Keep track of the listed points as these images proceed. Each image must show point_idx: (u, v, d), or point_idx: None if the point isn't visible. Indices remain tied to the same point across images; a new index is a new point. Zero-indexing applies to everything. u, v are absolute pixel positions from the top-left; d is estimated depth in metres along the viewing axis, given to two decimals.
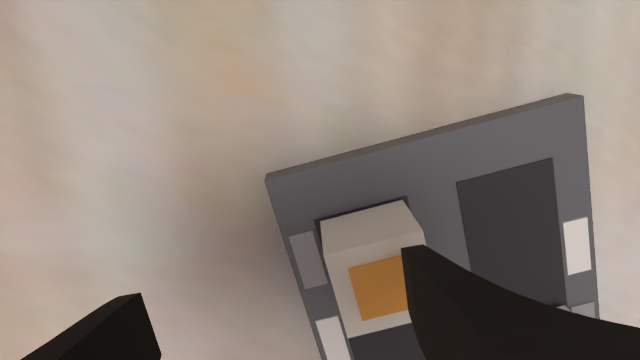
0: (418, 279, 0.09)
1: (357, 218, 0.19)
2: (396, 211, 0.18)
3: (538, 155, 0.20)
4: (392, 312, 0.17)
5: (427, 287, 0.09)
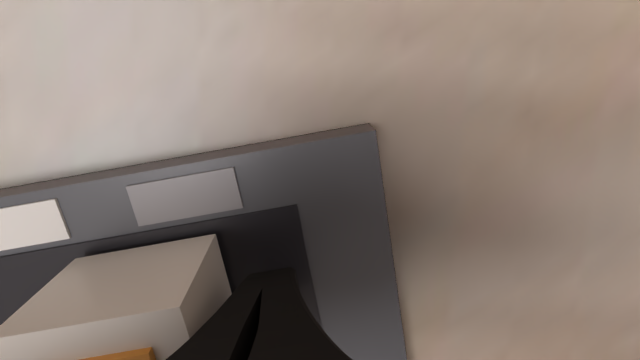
0: None
1: None
2: None
3: None
4: None
5: None
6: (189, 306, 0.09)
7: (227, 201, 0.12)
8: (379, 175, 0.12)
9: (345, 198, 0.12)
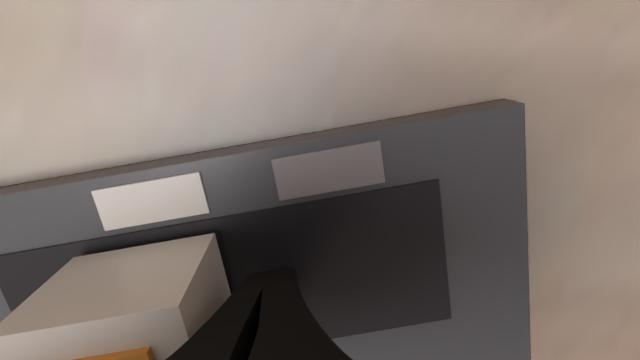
0: None
1: None
2: None
3: None
4: None
5: None
6: (187, 306, 0.09)
7: (369, 176, 0.12)
8: (523, 149, 0.12)
9: (487, 173, 0.12)
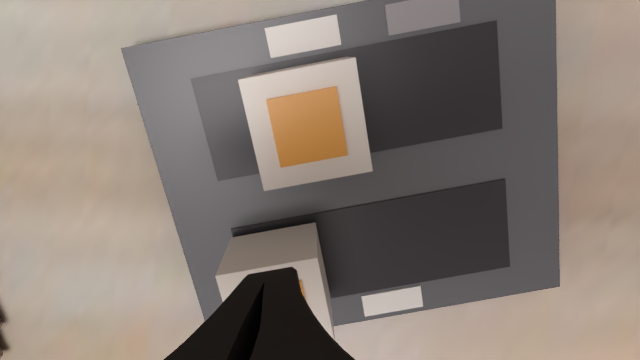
0: None
1: None
2: None
3: (188, 93, 0.18)
4: None
5: None
6: None
7: (449, 18, 0.17)
8: None
9: (529, 16, 0.17)
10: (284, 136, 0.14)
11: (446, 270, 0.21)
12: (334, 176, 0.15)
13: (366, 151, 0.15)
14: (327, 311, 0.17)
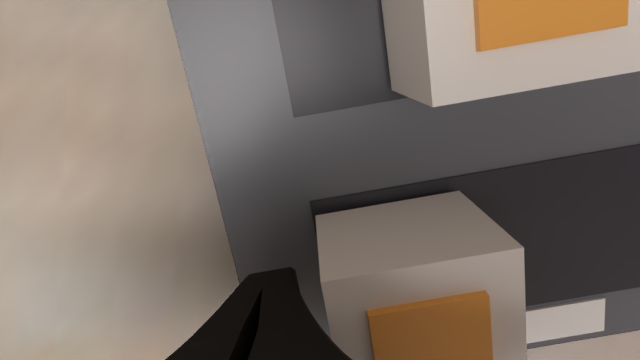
0: None
1: None
2: None
3: None
4: (490, 341, 0.09)
5: None
6: None
7: None
8: None
9: None
10: None
11: None
12: (583, 76, 0.07)
13: None
14: (524, 350, 0.09)
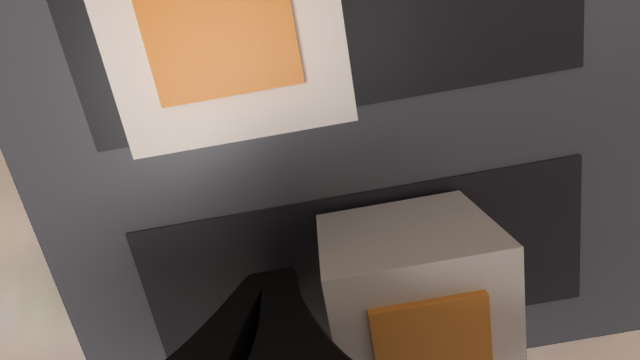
0: None
1: None
2: None
3: None
4: (490, 340, 0.09)
5: None
6: None
7: None
8: None
9: None
10: (165, 37, 0.07)
11: None
12: (278, 130, 0.07)
13: (345, 77, 0.07)
14: (524, 349, 0.09)
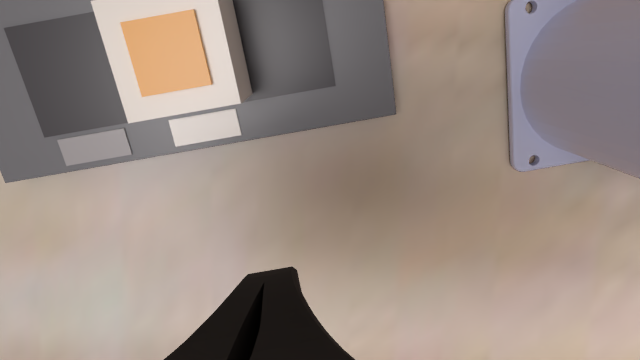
0: None
1: None
2: None
3: None
4: (202, 45, 0.14)
5: None
6: None
7: None
8: None
9: None
10: None
11: (264, 89, 0.18)
12: None
13: None
14: (229, 57, 0.14)
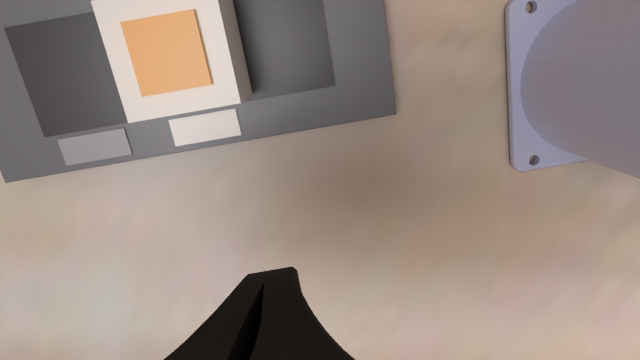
0: None
1: None
2: None
3: None
4: (202, 45, 0.14)
5: None
6: None
7: None
8: None
9: None
10: None
11: (264, 89, 0.18)
12: None
13: None
14: (229, 57, 0.14)
